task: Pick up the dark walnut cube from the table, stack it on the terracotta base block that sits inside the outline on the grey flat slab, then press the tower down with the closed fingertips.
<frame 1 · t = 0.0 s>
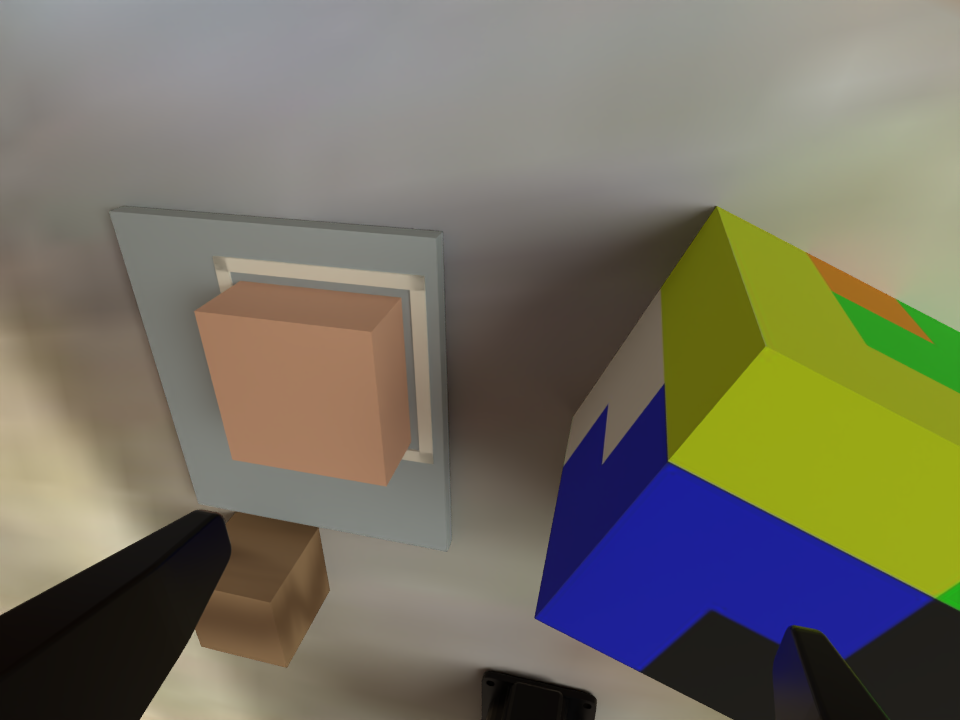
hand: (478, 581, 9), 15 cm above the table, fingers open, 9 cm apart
terracotta base: (329, 364, 26), point 1 cm above the table, touching grey flat slab
grey flat slab: (302, 388, 28), on the table
puzzle toy: (753, 381, 23), on the table
walnut cube: (284, 550, 34), on the table
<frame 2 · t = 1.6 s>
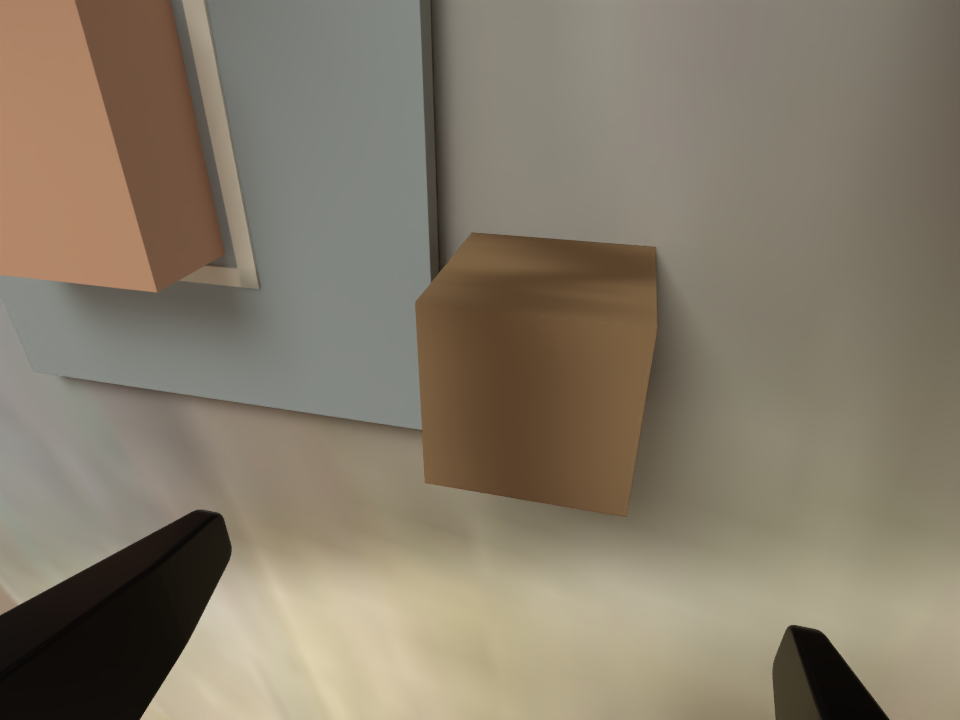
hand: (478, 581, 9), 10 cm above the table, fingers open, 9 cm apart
terracotta base: (91, 126, 17), point 1 cm above the table, touching grey flat slab
grey flat slab: (187, 194, 19), on the table
walnut cube: (555, 320, 18), on the table
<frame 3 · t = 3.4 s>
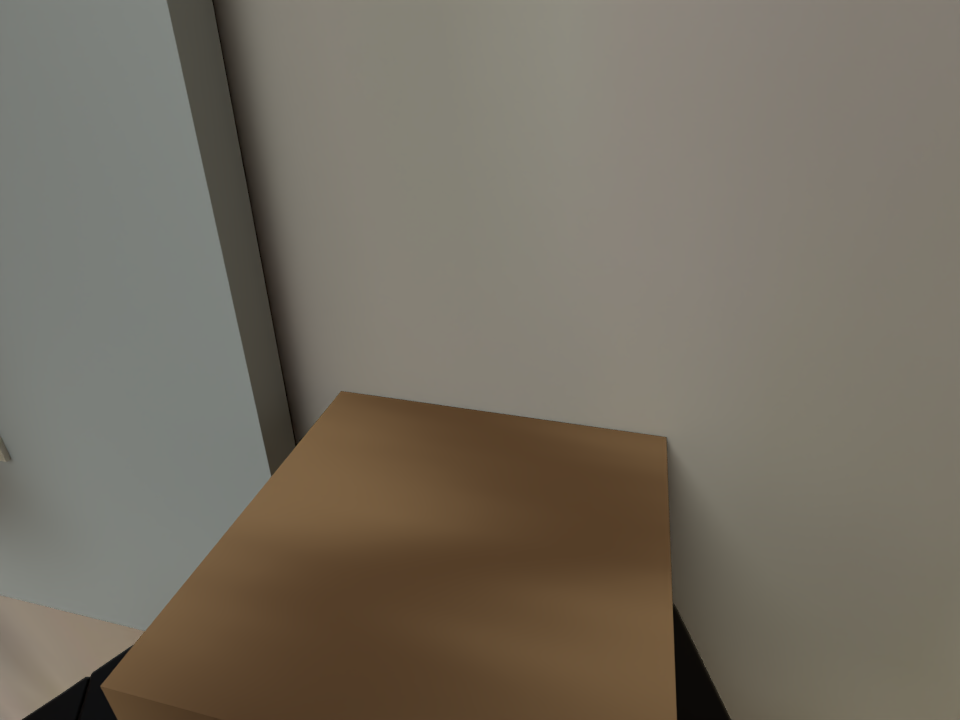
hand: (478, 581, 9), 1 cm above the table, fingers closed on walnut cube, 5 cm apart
walnut cube: (492, 533, 10), on the table, touching gripper
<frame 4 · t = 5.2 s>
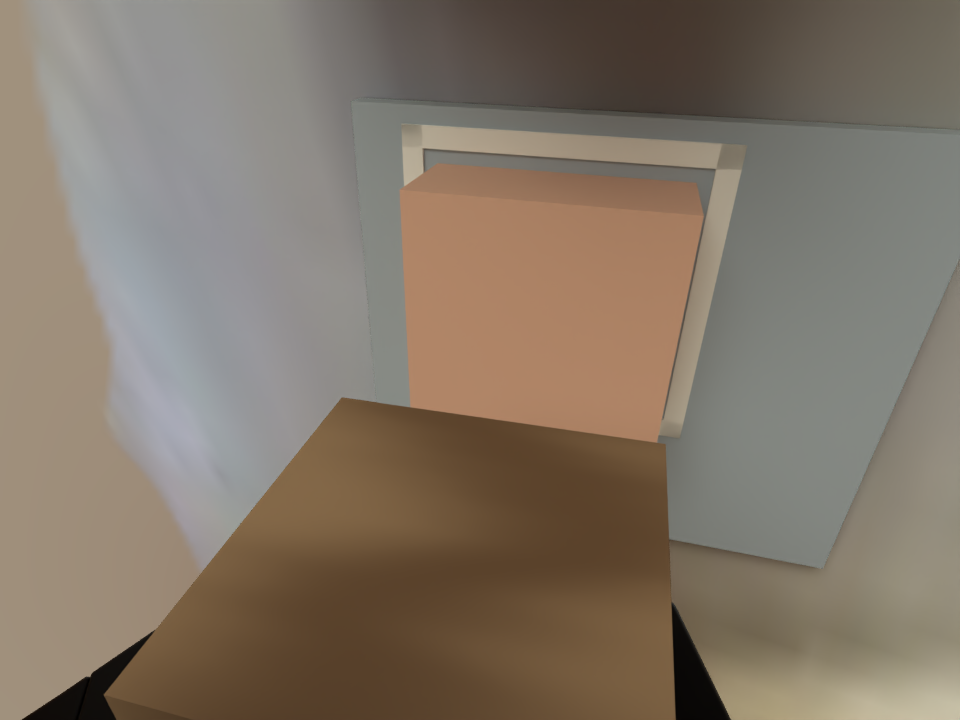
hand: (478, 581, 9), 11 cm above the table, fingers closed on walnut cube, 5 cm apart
terracotta base: (551, 291, 18), point 1 cm above the table, touching grey flat slab
grey flat slab: (612, 346, 19), on the table
walnut cube: (492, 538, 10), point 10 cm above the table, touching gripper
when the fingers open (6 cm above the table, at t = 6.9 s): walnut cube drops 1 cm, resting on terracotta base.
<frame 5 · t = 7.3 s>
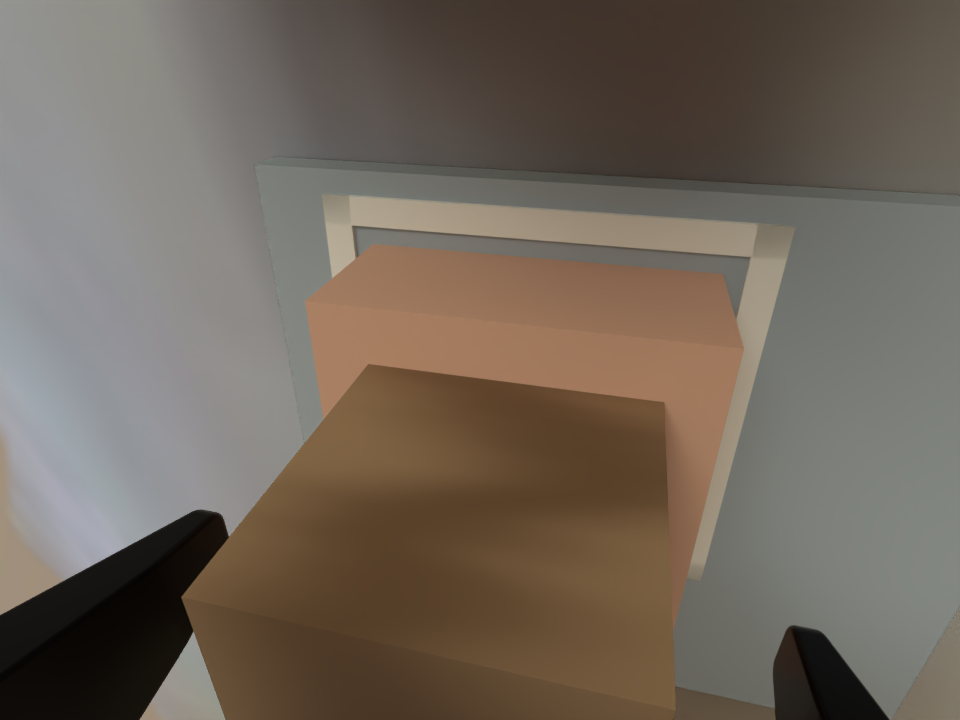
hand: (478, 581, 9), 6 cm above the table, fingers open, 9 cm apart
terracotta base: (530, 404, 14), point 1 cm above the table, touching grey flat slab, walnut cube
grey flat slab: (611, 464, 15), on the table
walnut cube: (505, 495, 11), point 4 cm above the table, touching terracotta base
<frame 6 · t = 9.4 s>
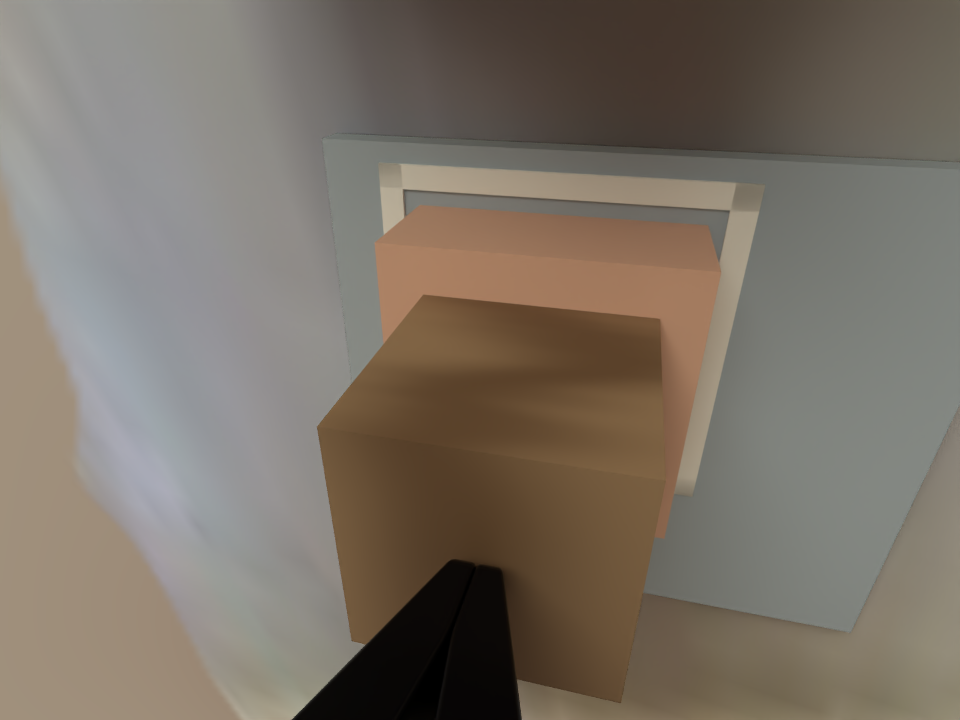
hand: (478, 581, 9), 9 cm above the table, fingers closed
terracotta base: (548, 341, 16), point 1 cm above the table, touching grey flat slab, walnut cube
grey flat slab: (616, 397, 18), on the table
walnut cube: (531, 405, 14), point 4 cm above the table, touching terracotta base
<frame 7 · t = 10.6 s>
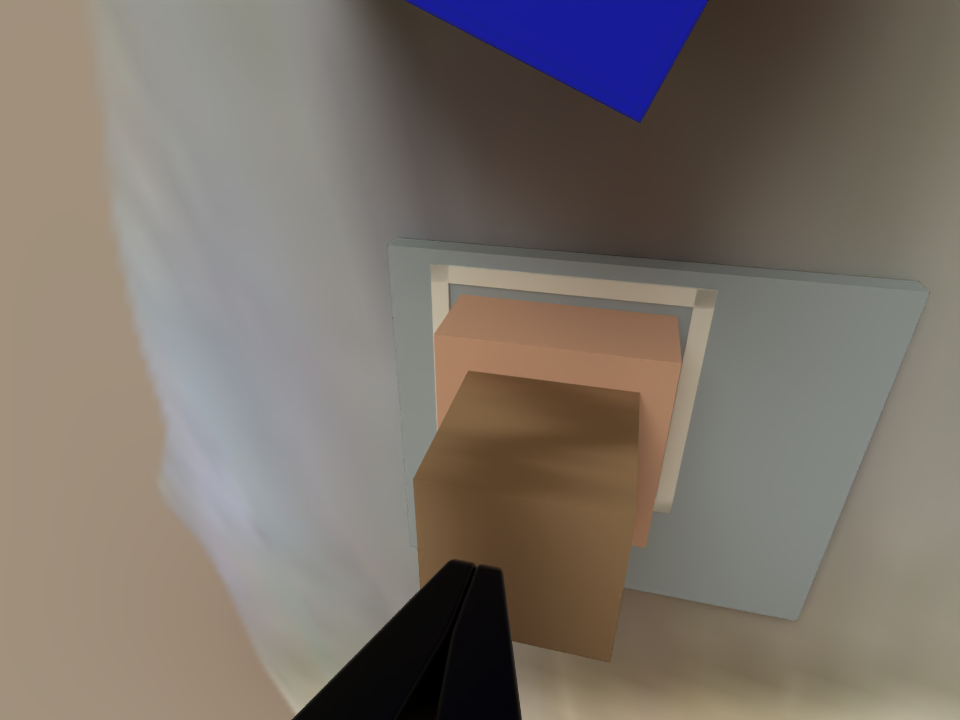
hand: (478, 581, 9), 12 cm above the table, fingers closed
terracotta base: (558, 395, 21), point 1 cm above the table, touching grey flat slab, walnut cube
grey flat slab: (610, 436, 23), on the table
walnut cube: (546, 449, 19), point 4 cm above the table, touching terracotta base
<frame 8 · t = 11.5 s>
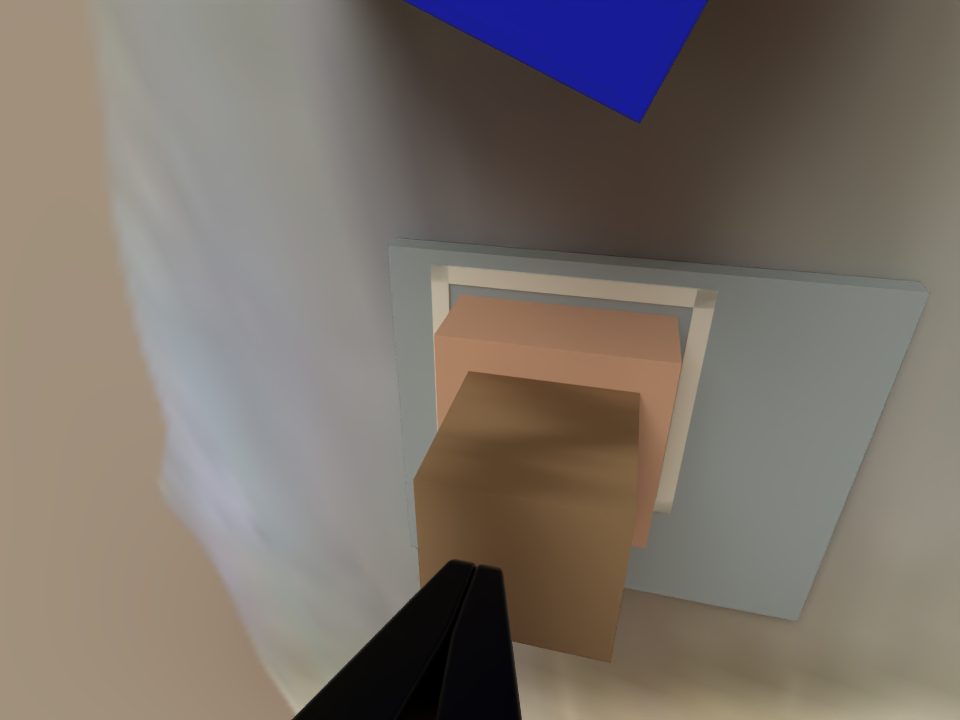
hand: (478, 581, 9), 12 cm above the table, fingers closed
terracotta base: (558, 395, 21), point 1 cm above the table, touching grey flat slab, walnut cube
grey flat slab: (610, 436, 23), on the table
walnut cube: (546, 449, 19), point 4 cm above the table, touching terracotta base
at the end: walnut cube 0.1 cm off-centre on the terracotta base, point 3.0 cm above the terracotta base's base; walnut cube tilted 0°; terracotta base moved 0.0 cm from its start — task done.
